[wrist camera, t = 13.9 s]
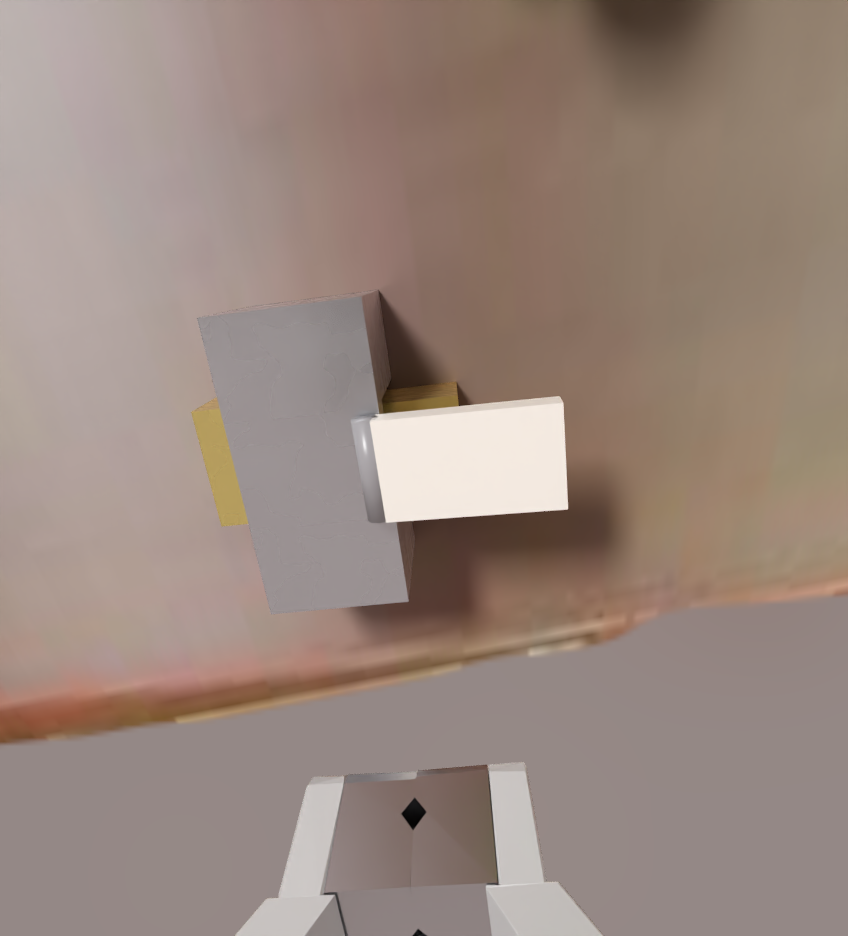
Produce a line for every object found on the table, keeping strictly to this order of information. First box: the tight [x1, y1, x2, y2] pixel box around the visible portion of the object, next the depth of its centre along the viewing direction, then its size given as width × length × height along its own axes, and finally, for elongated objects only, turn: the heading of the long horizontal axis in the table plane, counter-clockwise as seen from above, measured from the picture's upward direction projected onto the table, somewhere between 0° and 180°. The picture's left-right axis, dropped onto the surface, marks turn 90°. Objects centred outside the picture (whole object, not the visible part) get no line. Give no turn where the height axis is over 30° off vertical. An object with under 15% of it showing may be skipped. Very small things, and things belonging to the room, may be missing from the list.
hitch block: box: [197, 290, 415, 614], centre depth 25 cm, size 6×12×6 cm, turn 7°
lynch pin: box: [191, 382, 459, 526], centre depth 25 cm, size 10×5×5 cm, turn 97°
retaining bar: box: [351, 396, 568, 523], centre depth 21 cm, size 1×4×8 cm
